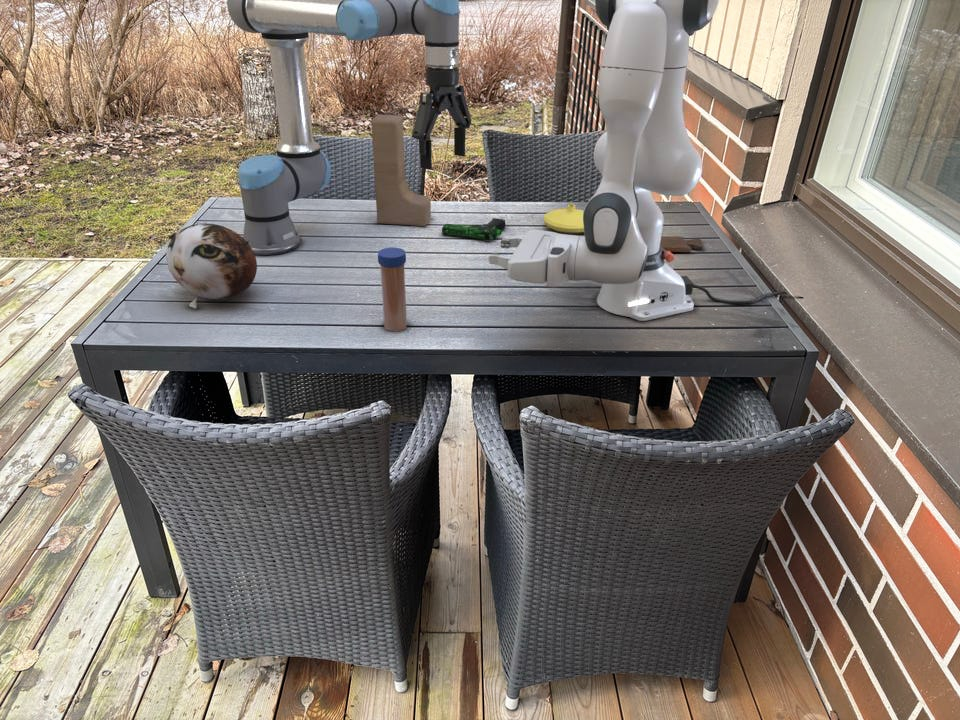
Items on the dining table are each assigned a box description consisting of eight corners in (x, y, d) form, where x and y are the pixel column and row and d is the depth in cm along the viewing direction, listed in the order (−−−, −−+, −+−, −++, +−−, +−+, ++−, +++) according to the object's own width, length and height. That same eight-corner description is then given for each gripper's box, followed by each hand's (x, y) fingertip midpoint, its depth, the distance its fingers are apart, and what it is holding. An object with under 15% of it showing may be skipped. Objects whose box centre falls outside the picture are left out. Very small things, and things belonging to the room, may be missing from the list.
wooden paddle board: (706, 254, 196) (698, 241, 204) (708, 249, 195) (699, 236, 203) (612, 251, 196) (608, 238, 205) (613, 245, 195) (608, 232, 204)
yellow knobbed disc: (559, 216, 220) (561, 193, 217) (605, 227, 212) (608, 204, 209) (532, 230, 209) (533, 207, 206) (580, 242, 201) (582, 218, 198)
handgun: (511, 219, 210) (493, 234, 198) (511, 228, 211) (492, 244, 199) (461, 212, 215) (440, 226, 203) (461, 221, 217) (440, 236, 204)
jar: (381, 322, 159) (377, 251, 150) (404, 319, 160) (400, 248, 152) (386, 332, 155) (382, 260, 146) (409, 329, 156) (406, 257, 148)
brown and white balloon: (130, 285, 161) (164, 203, 163) (192, 308, 177) (221, 233, 178) (195, 307, 151) (229, 220, 152) (254, 330, 166) (285, 250, 168)
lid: (375, 258, 151) (375, 248, 150) (402, 255, 153) (401, 246, 152) (381, 268, 147) (380, 259, 146) (408, 265, 148) (408, 256, 147)
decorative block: (426, 226, 211) (423, 122, 195) (376, 223, 212) (370, 119, 197) (431, 218, 217) (429, 116, 202) (383, 215, 219) (377, 114, 203)
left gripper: (421, 75, 148) (424, 176, 159) (486, 61, 166) (485, 153, 177) (393, 71, 151) (397, 171, 162) (460, 58, 169) (460, 148, 180)
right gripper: (572, 225, 149) (507, 219, 152) (555, 259, 132) (482, 252, 135) (570, 253, 152) (507, 247, 155) (553, 291, 135) (482, 283, 138)
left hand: (443, 161), depth 169 cm, fingers open, 13 cm apart
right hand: (495, 250), depth 145 cm, fingers open, 8 cm apart
